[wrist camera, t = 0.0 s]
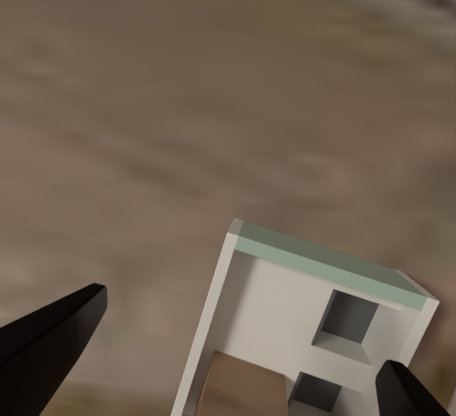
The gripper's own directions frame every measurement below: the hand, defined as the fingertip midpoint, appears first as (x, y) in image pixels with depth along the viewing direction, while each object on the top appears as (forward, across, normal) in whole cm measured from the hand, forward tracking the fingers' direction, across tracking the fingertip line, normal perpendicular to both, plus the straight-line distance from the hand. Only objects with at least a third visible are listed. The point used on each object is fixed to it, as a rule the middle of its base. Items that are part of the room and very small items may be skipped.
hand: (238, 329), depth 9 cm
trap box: (+13, -5, +13) cm, 19 cm away
